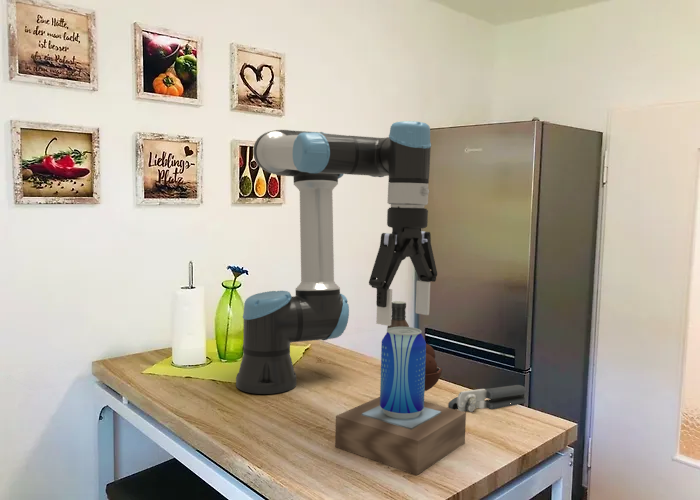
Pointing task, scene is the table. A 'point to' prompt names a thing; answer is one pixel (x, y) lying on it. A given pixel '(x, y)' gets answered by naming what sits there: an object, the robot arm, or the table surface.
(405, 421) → the walnut plinth
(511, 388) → the can opener
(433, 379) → the ice cream bowl
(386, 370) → the beer can
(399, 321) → the sauce bottle
